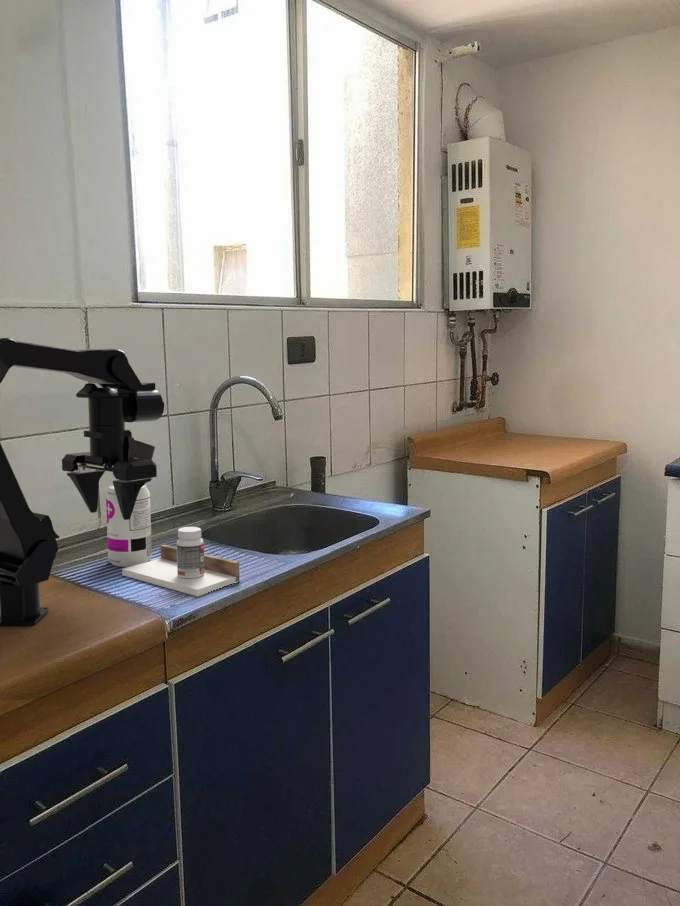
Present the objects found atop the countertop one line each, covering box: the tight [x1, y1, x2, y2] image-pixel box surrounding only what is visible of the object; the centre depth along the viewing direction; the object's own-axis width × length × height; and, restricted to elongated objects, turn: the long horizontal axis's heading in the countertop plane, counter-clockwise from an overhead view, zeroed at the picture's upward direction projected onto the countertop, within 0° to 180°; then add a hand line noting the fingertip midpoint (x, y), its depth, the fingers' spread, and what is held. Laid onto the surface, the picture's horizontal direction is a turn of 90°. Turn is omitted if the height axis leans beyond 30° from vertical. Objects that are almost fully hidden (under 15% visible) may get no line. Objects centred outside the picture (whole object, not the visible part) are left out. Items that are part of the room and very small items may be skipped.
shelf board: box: [121, 544, 240, 597], centre depth 131 cm, size 20×10×4 cm, turn 54°
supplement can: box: [105, 484, 153, 568], centre depth 141 cm, size 8×8×15 cm
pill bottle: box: [176, 526, 205, 578], centre depth 129 cm, size 5×5×8 cm
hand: (109, 515), depth 124 cm, fingers open, 9 cm apart
